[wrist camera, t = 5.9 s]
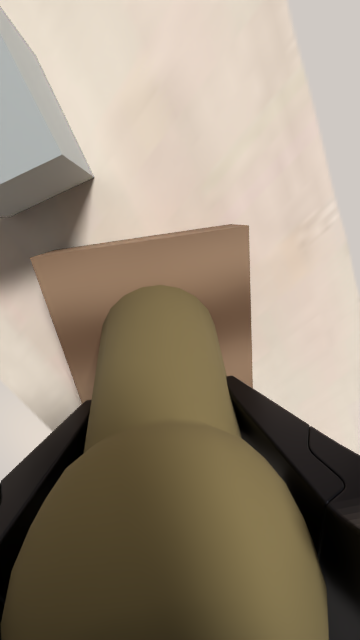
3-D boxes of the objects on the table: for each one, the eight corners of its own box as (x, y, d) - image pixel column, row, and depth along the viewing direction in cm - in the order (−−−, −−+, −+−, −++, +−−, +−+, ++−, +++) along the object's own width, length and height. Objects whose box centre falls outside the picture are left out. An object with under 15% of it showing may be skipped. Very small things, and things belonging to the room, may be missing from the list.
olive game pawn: (124, 400, 14) (52, 836, 4) (81, 304, 12) (-311, 759, 2) (225, 371, 14) (402, 744, 4) (201, 269, 12) (466, 544, 2)
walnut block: (237, 370, 18) (252, 397, 15) (100, 393, 18) (90, 426, 15) (230, 224, 14) (248, 225, 12) (54, 250, 14) (29, 257, 11)
